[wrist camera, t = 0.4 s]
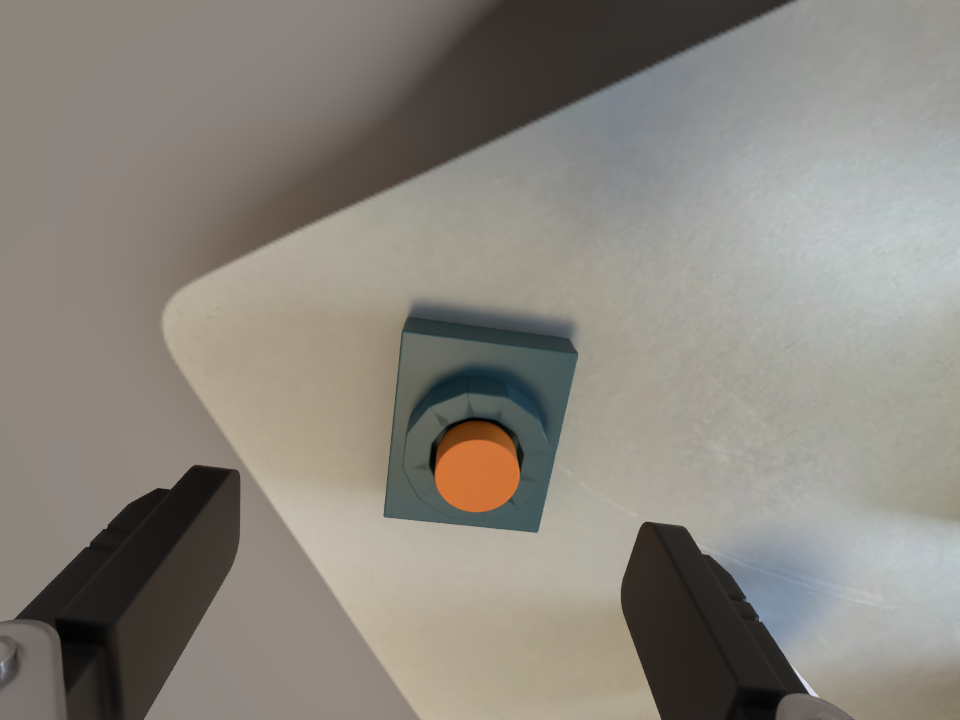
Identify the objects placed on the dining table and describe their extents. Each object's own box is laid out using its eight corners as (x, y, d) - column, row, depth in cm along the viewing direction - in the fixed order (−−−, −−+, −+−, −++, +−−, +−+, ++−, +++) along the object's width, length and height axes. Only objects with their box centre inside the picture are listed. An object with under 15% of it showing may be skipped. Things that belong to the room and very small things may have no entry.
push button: (441, 415, 23) (439, 434, 21) (522, 425, 23) (526, 444, 21) (432, 484, 24) (430, 508, 22) (508, 493, 24) (512, 517, 23)
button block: (406, 316, 25) (396, 343, 21) (569, 338, 25) (588, 367, 22) (389, 492, 28) (377, 542, 24) (532, 507, 29) (543, 558, 25)
